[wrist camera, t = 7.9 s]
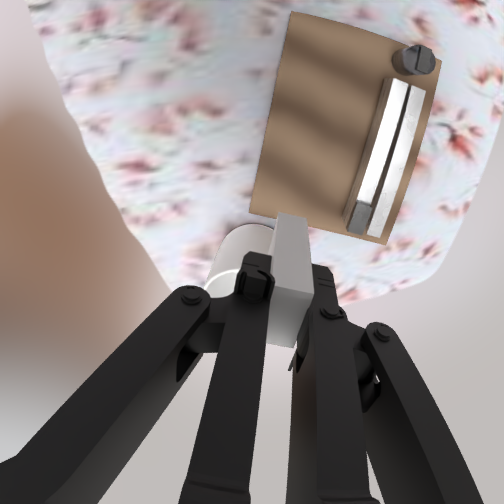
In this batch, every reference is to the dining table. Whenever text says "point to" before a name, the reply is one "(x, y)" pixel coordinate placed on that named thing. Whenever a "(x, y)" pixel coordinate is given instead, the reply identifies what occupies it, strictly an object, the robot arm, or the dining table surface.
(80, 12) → the dining table surface
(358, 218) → the light grey long bar
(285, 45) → the board
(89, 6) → the dining table surface
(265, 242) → the mug
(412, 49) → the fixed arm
